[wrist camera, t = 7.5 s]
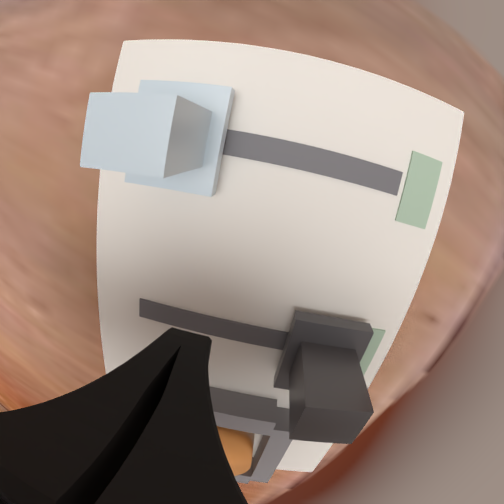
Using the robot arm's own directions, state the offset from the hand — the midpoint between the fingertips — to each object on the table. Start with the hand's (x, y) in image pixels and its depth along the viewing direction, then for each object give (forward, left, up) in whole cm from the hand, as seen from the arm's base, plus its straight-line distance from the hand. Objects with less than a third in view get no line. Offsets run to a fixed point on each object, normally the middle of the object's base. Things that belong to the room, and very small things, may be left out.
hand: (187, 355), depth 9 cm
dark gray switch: (0, -5, -2) cm, 5 cm away
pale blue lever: (+6, +2, -2) cm, 7 cm away
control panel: (0, -2, -3) cm, 4 cm away
